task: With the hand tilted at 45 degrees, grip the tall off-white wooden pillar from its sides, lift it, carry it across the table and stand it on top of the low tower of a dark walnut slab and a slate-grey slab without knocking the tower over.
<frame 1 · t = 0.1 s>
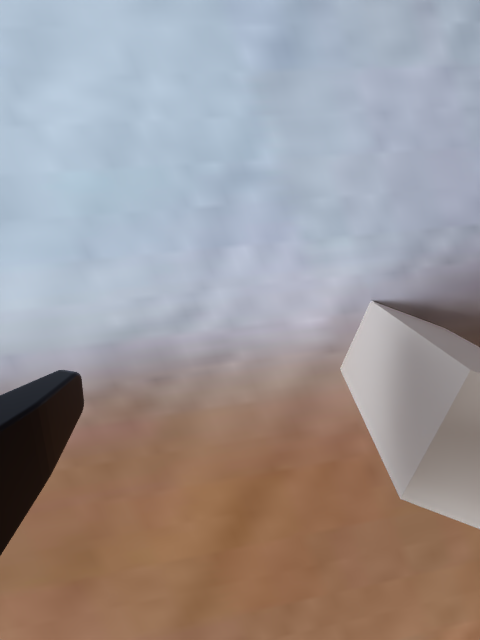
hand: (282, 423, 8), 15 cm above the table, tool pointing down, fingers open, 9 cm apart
pillar: (390, 348, 23), on the table
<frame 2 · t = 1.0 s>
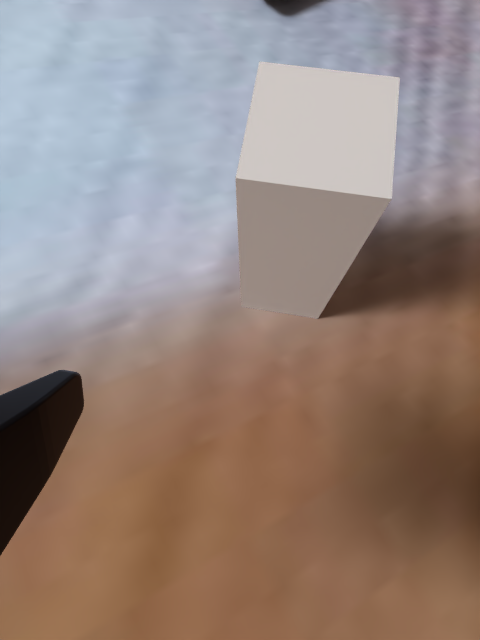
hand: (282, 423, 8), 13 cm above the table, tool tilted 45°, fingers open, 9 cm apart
pillar: (284, 277, 23), on the table
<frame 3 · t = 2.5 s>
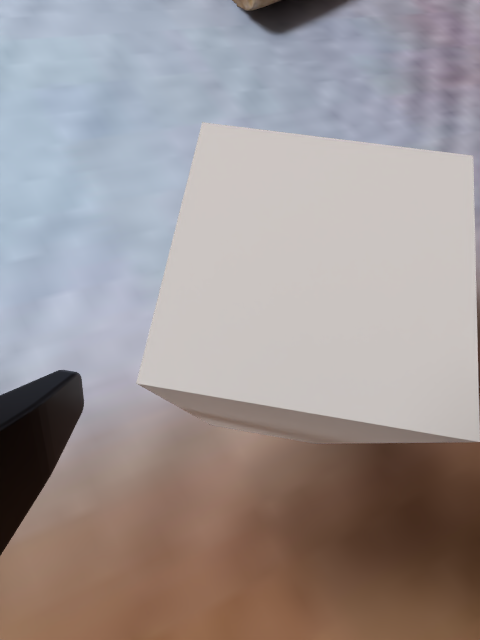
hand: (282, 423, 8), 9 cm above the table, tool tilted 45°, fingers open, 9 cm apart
pillar: (270, 382, 17), on the table
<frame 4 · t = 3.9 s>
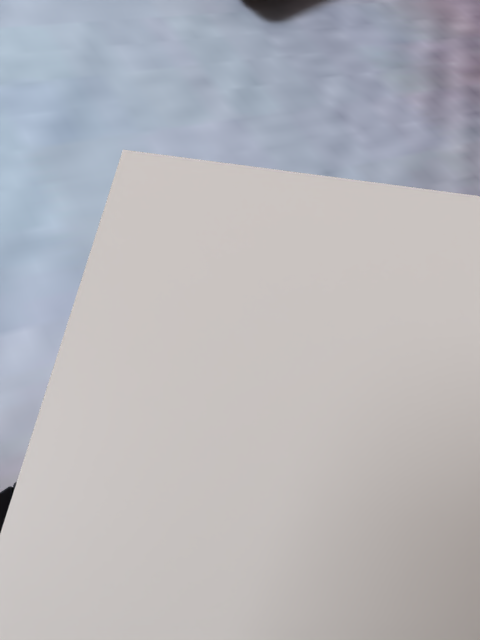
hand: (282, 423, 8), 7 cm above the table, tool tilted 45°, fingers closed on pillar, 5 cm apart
pillar: (265, 440, 14), on the table, touching gripper
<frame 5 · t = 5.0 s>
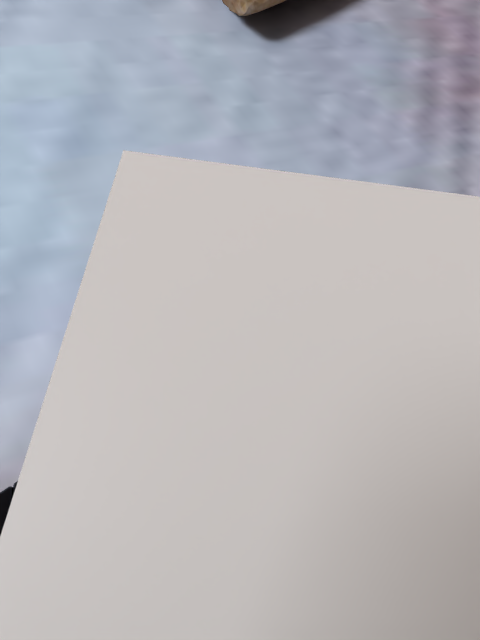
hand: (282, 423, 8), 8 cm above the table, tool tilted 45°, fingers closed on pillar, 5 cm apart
pillar: (265, 440, 14), point 1 cm above the table, touching gripper
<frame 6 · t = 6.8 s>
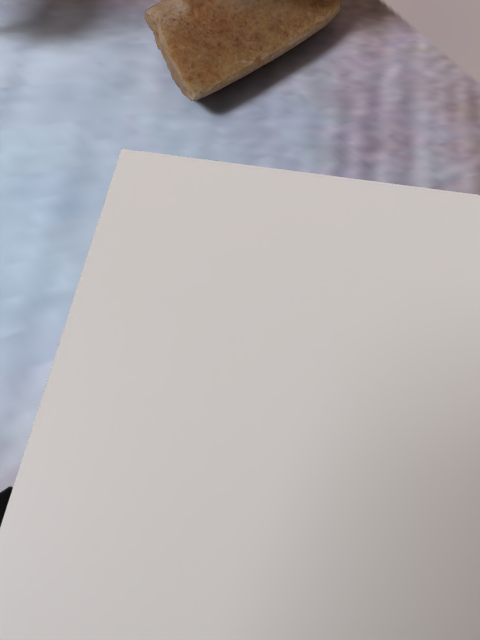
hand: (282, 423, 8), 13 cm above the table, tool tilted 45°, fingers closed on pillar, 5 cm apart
pillar: (265, 440, 14), point 7 cm above the table, touching gripper
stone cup: (233, 33, 30), on the table
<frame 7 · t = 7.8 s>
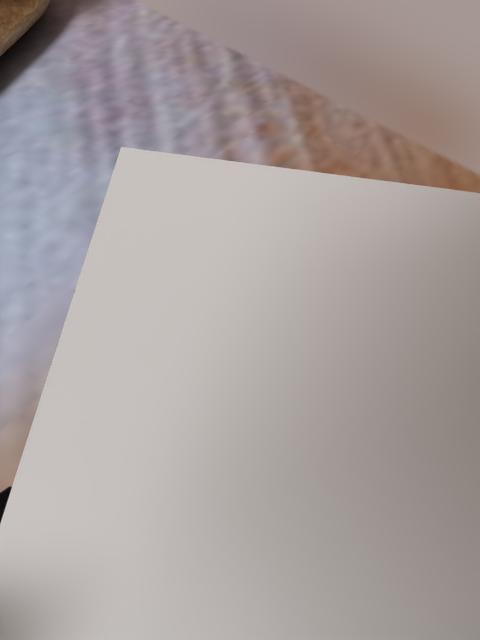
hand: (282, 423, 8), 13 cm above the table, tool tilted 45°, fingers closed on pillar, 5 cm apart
pillar: (264, 439, 14), point 7 cm above the table, touching gripper
when the fingers open (12 cm above the table, at t = 9.5 s): pillar drops 2 cm, resting on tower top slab.
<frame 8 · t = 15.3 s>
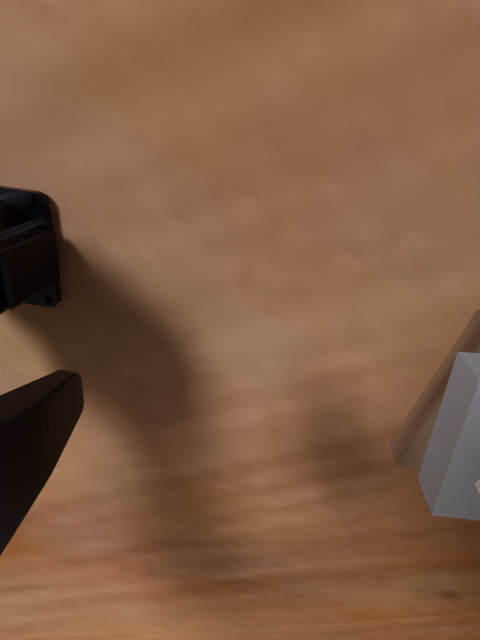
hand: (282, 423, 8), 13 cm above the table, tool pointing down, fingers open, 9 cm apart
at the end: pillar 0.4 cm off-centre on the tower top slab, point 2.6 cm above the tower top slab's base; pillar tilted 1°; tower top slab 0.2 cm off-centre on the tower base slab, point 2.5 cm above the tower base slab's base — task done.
